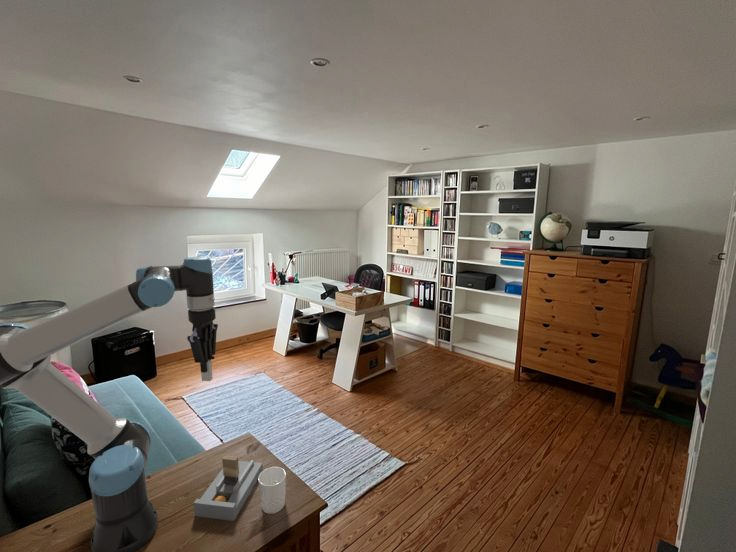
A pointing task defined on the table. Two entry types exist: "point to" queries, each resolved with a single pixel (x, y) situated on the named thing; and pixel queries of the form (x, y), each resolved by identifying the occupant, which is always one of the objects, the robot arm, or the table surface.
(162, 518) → the table surface
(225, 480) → the tan block
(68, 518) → the table surface
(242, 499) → the board
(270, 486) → the white cup
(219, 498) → the ball
